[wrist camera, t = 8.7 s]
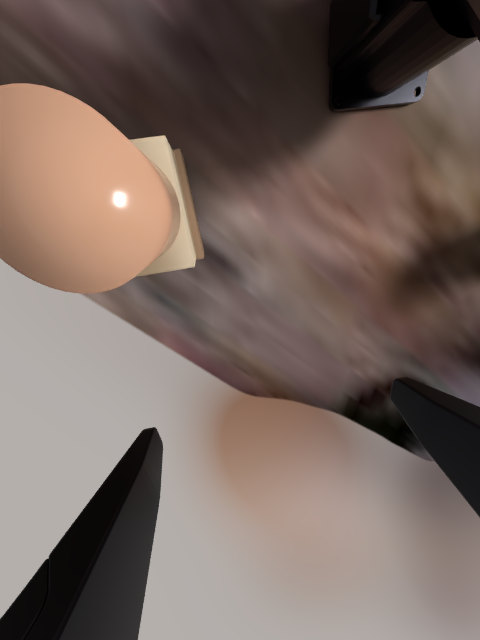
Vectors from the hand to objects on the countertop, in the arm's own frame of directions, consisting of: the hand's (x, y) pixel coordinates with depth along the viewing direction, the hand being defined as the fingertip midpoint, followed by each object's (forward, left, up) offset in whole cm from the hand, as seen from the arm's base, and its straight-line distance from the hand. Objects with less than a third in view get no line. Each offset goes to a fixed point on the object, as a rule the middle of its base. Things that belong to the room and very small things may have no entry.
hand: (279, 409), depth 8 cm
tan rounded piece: (+5, -7, -6) cm, 11 cm away
